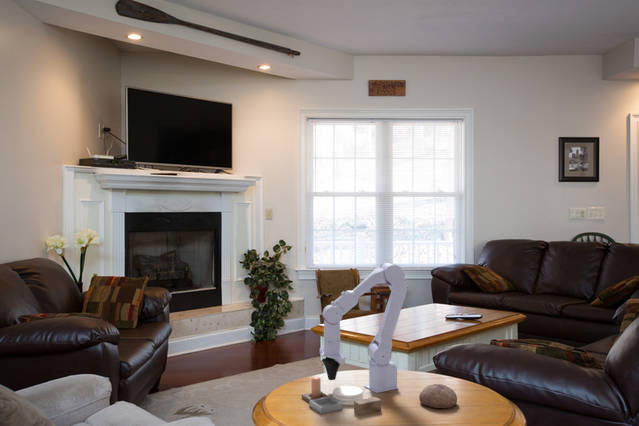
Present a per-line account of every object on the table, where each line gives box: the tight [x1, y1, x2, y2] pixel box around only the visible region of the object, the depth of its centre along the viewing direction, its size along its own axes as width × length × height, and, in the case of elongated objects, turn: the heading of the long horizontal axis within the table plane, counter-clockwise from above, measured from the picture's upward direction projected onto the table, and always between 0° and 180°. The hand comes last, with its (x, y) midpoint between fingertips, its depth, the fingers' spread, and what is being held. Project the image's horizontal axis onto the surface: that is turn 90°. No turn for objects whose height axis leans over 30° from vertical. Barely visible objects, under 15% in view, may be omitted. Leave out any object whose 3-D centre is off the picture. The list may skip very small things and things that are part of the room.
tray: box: [309, 396, 343, 415], centre depth 170 cm, size 8×8×2 cm
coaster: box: [332, 385, 364, 406], centre depth 177 cm, size 10×10×4 cm
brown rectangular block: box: [353, 396, 382, 416], centre depth 167 cm, size 8×3×4 cm, turn 118°
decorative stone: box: [418, 383, 458, 409], centre depth 174 cm, size 12×12×6 cm
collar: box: [301, 391, 330, 404], centre depth 178 cm, size 7×7×1 cm
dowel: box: [310, 376, 322, 399], centre depth 178 cm, size 3×3×7 cm
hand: (331, 379), depth 186 cm, fingers closed
